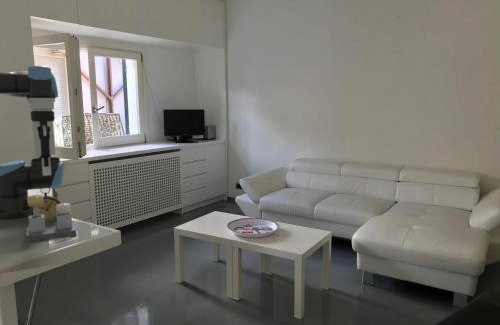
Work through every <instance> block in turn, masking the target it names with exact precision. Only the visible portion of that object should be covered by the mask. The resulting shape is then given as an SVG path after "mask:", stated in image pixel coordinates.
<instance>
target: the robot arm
mask: <svg viewBox="0 0 500 325" xmlns="http://www.w3.org/2000/svg"><path fill="white" fill-rule="evenodd" d="M57 85H58V84H57V81H56V77H55V75H54V74H53V73H52V69H51V67H50V66H45V65H30V66H28V67H27V71H26V70H25V71H24V70H23V71H22V70H14V71H13V70H12V71H11V70H10V71H4V72H3V71H1V72H0V95H3V96H4V95H5V96H9V97H17V98H26V102H27V103H28V104H30V110H31V111H30V120H31V125H32V138H33V151H34V152H33V153H34V156H33V157H32V158H31V159H30V162H31V163H27V162H26V161H25V160H14V161H10V162H5V163H0V219H1V220H6V219H17V218H23V217H29V216H31V215H32V213H31V209H32V206H28V200H27V197H29V190H31V191H32V190H44V189H49V188H50V189H53V188H55V189H56V188H60V187H61V186H62V184H63V179H64V177H63V176H64V162H63V161H61V158H60V156H58V155H57V153H56V143H55V129H54V121H55V119H56V118H55V111H54V109H55V102H56V99H57V98H58V97H59V90H58V86H57ZM43 186H45V187H43ZM46 186H48V187H49V188H48V187H46ZM42 187H43V188H42ZM41 188H42V189H41Z"/></svg>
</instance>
